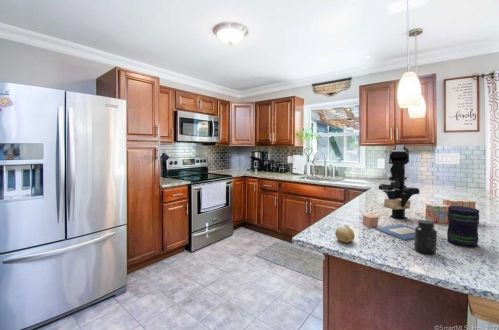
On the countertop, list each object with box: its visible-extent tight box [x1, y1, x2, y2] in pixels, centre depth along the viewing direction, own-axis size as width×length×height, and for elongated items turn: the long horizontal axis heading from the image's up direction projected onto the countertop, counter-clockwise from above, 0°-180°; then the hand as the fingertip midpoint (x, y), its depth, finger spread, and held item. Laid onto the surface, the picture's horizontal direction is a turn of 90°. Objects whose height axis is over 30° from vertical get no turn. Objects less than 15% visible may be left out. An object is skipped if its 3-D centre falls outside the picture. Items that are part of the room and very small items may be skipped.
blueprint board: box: [374, 223, 416, 241], centre depth 113 cm, size 18×16×1 cm
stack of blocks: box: [424, 198, 476, 224], centre depth 129 cm, size 21×6×12 cm, turn 85°
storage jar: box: [446, 206, 480, 249], centre depth 99 cm, size 10×10×15 cm
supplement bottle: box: [413, 219, 438, 256], centre depth 91 cm, size 7×7×12 cm
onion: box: [334, 224, 356, 244], centre depth 102 cm, size 8×8×7 cm
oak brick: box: [383, 198, 411, 210], centre depth 119 cm, size 10×6×4 cm, turn 104°
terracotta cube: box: [362, 214, 379, 228], centre depth 124 cm, size 5×5×5 cm
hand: (397, 205), depth 119 cm, fingers closed on oak brick, 6 cm apart
